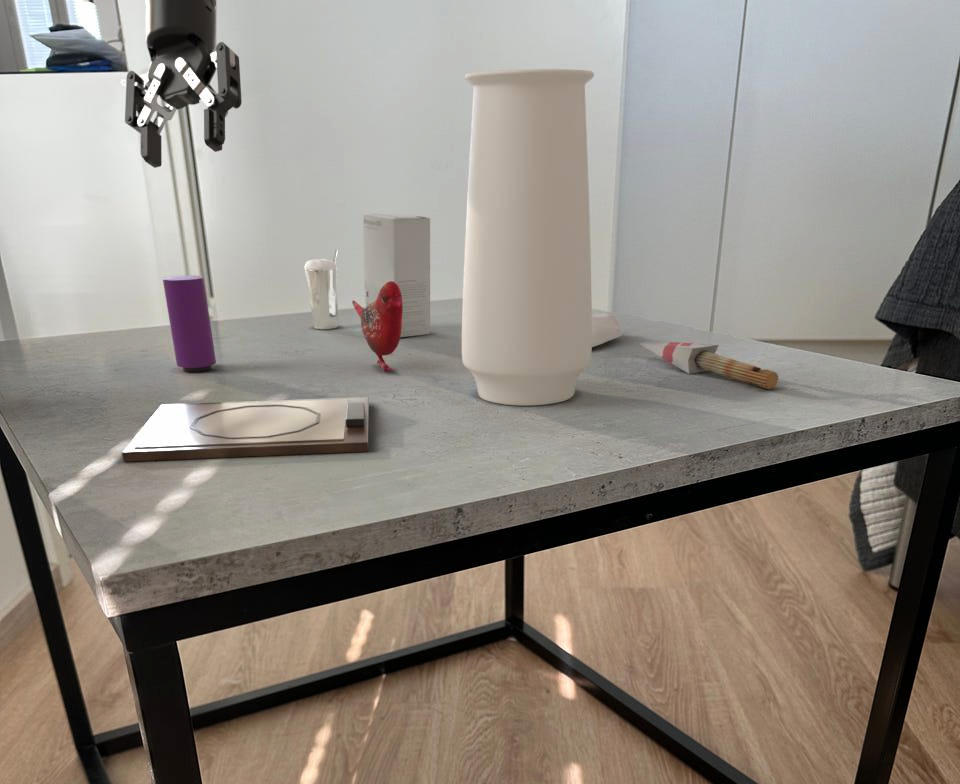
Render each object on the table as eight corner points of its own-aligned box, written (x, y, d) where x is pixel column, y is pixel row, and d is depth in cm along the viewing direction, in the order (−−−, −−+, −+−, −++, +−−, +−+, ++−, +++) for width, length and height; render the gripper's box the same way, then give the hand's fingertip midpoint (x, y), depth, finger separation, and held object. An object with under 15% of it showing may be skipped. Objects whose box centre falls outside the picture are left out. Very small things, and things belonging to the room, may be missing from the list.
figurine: (530, 313, 132) (526, 188, 123) (645, 327, 122) (650, 192, 113) (445, 352, 119) (434, 214, 110) (567, 370, 109) (566, 222, 100)
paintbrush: (662, 327, 109) (787, 365, 94) (660, 351, 111) (782, 392, 96) (636, 330, 108) (759, 369, 93) (634, 354, 109) (755, 396, 94)
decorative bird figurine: (391, 383, 100) (385, 284, 95) (345, 354, 114) (338, 267, 109) (416, 380, 100) (412, 283, 96) (367, 352, 115) (361, 266, 110)
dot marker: (174, 374, 105) (158, 280, 100) (181, 366, 109) (166, 275, 104) (213, 372, 105) (200, 279, 101) (219, 364, 109) (206, 274, 105)
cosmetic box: (365, 330, 128) (357, 213, 121) (401, 325, 131) (396, 211, 124) (397, 339, 122) (391, 216, 115) (435, 333, 125) (431, 213, 118)
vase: (523, 374, 102) (525, 80, 89) (615, 392, 94) (633, 72, 81) (436, 395, 94) (425, 75, 81) (529, 417, 86) (533, 66, 73)
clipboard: (123, 462, 76) (119, 443, 75) (162, 412, 90) (160, 397, 89) (368, 451, 77) (366, 434, 77) (369, 404, 91) (368, 389, 91)
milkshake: (353, 326, 131) (347, 250, 127) (323, 331, 128) (316, 254, 123) (333, 322, 134) (326, 248, 130) (303, 327, 131) (295, 251, 126)
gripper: (107, 7, 102) (107, 153, 102) (211, -31, 96) (212, 124, 96) (155, 48, 109) (156, 184, 109) (255, 15, 103) (256, 159, 103)
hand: (182, 156), depth 102 cm, fingers open, 8 cm apart
